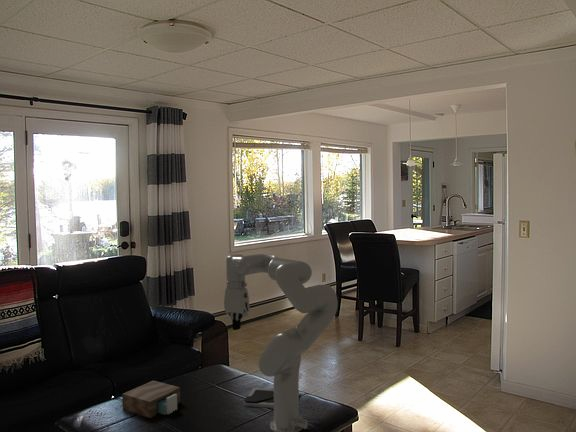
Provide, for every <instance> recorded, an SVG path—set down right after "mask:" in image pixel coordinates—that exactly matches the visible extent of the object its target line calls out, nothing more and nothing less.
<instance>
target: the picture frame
mask: <svg viewBox="0 0 576 432" xmlns="http://www.w3.org/2000/svg"><path fill="white" fill-rule="evenodd" d="M243 406H244V407H255V408H265V409H266V408H269V409H274V388H273V389H272V388H259V387H253V388H252V390H251V391H250V392H249V394H248V396H246V397H245V398H244V399H243Z"/></svg>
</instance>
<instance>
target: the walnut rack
mask: <svg viewBox="0 0 576 432" xmlns="http://www.w3.org/2000/svg"><path fill="white" fill-rule="evenodd" d="M173 394H177V405H178V404H180V403H181V388H180V386H176V385H173V384H172V385H171V384H168V383H165V382H160V381H156V380H151V381H149V382H146V383H145V384H142V385H139V386H137V387H135V388H133V389H131V390H128V391H126V392H124V393H122V394H121V395H122V398H121V399H122V401H121V402H122V410H125V411H127V412H129V413H134V414H135V415H136V414H137V415H139V416H142V417H146V418H149V419H150V418H153V417H155V416H157V414H158V413H157V408H156V401H158V400H160V399H162V398H164V397H166V396H171V395H173Z"/></svg>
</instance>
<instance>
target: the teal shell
mask: <svg viewBox="0 0 576 432" xmlns="http://www.w3.org/2000/svg"><path fill="white" fill-rule="evenodd" d="M156 408H157V414H161V415H164V416H165V415H170V414H172V413H173V411H174V412H175V410H176V411H177V410H178V404H177V394H173V395H171V396H166V397H164V398H162V399H160V400H158V401H156Z"/></svg>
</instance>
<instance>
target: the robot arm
mask: <svg viewBox="0 0 576 432" xmlns="http://www.w3.org/2000/svg"><path fill="white" fill-rule="evenodd" d="M225 263H226V264H225V266H226V287H225V290H224V291H225V292H224V299H223V305H224V307H223V308H224V311H225V312H224V313H225V315H228V316H229V317H230V320H231V321H232V322H231V323H232V330H233V331H238V330H240V329H241V325H242V324H241V322H242V319H243V318H244V317H248V315H249V314H248V312H250V297H249V291H248V288H247V286H248V283H247V282H246V276H248V275H254V274H260V273H266V274H267V275H268V277H269V278H270V279H271V280H273V281H276V284H277V285H278V287H279V288H280V290H281V292H282V293H283V294H284V296H285V297H286V298H287V300H288V301H289V302H290V304H291V305H292V307H294V309H295V311H297V312H298V313H302V314H305V315H304V316H303V318H302V319H301V320H300V321H299V322H298V324H297V325H295V326H293V327H292V328H289V329H286V330H284V331H280V332H279V333H277V334H276V335H274V336H273V338H272V339H271V341H269V343H268V344H267V345H266V346H265V348H264V349H263V350H262V351H261V353H260V354H259V357H258V361H257V363H258V365H257V366H258V368H259V371H260V373H261V374H263V375H264V376H266V377H273V385H272V387H273V389H274V408H273V420H271V421H270V423H269V429H270V430H271V431H272V432H300V431H302V430H303V429H304V430H306V429H308V420H303V419H302V414H299V413H300V412H299V411H300V410H299V409H300V405H299V404H300V403H299V402H300V401H299V398H300V397H299V395H300V394H299V393H300V391H299V390H300V389H299V386H300V385H299V383H300V382H299V379H300V377H299V376H300V367H301V362H302V354H303V353H306V352H307V351H308V350H309V349H310V348H311V346H313V344H314V343H315V342H316V341H317V340H318V338H319V337H320V336H321V334H322V333H323V332H324V331H325V330H326V329H327V327H328V326H329V325H330V324H331V323H332V321H333V320H334V318H335V316H336V314H337V311H338V304H339V303H338V297H337V293H336V291H335V290H334V288H333V287H331V286H330V285H327V284H316V285H312V286H307V287H305V286H304V284H306V283H307V282H308V281H310V279H311V277H312V274H313V273H312V271H313V270H312V268H311V266H310V265H309V264H308V263H306V262H305V261H301V260H295V259H287V258H280V257H277V256H275V255H272V254H271V255H270V254H263V253H258V254H250V255H243V254H239V253H238V254H229V255H227V256H226V261H225Z"/></svg>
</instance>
